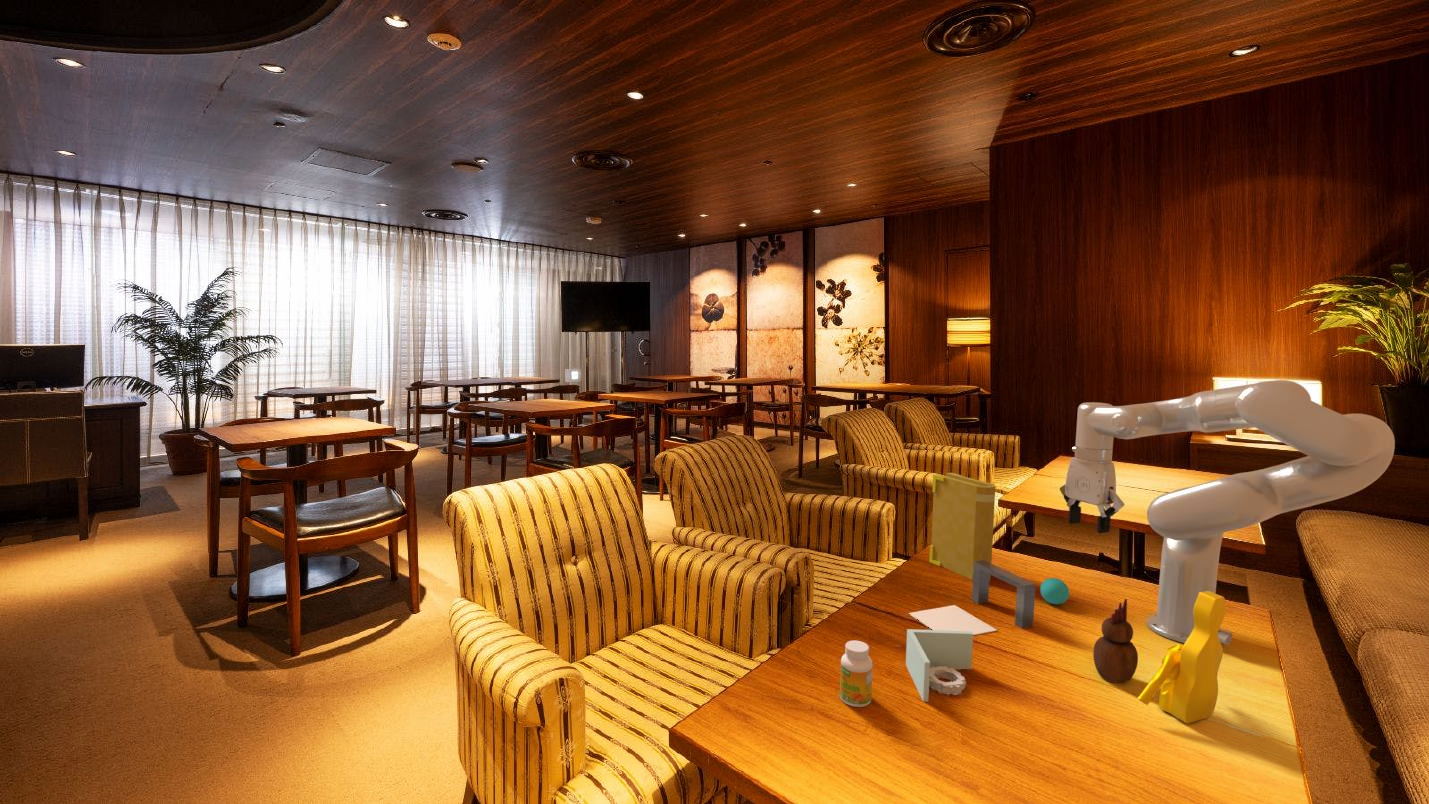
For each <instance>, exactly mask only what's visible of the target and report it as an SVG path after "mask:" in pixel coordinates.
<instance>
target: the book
mask: <svg viewBox="0 0 1429 804" xmlns="http://www.w3.org/2000/svg"><path fill="white" fill-rule="evenodd" d="M932 493H933V497H932V499H933V500H932V501H933V502H932V517H931V519H932V522H931V542H930V543H931V544H929V561H928V562H929V563H931V564H933V565H936V566H938V567H942V568H945V569H947V570H948V571H951V572H953V573H956V574H957V575H960V576H962V577H964V578H966V577H967V579H968V580H970V581H973V570H974V562H975V561H982V560H985V561H987V562H989V563H991V564H992V556H993V540H994V539H993V538H994V537H993V536H994V521H995V517H994V516H995V501H996V485H995V484H993V483H990V482H986V481H982V480H978V479H975V478H971V477H967V476H963V475H961V474H957V473H953V472H946V473H945V475H944V474H943V475H942V474H932ZM991 577H992V575H990V577H989V582H990V581H991V579H992V578H991Z"/></svg>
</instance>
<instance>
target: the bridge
mask: <svg viewBox="0 0 1429 804" xmlns="http://www.w3.org/2000/svg"><path fill="white" fill-rule="evenodd" d="M990 575H991V577H992V576H993V577H995V578H997V579H998V580H1000V581H1002V582H1005V583H1007V584H1009V585H1011V586H1013V587H1015V588H1016V602H1015V603H1016V604H1015V615H1014V616H1015V618H1014V620H1015V621H1014V625H1015V626H1017V627H1019V628H1021V630H1023V629H1028V628H1032V627H1034V614H1035V599H1036V583H1034V582H1032V581H1030V580H1027V579H1026V578H1024V577H1022V576H1019V575H1018V574H1015V573H1013V572H1010V571H1008V570H1006V569H1004V568H1002V567H999V566H998V565H995V564H993V563H992V562H991V563H989V562H987V561H985V560H982V561H975V562H974V570H973V580H972V593H971V596H972V597H971V601H972V602H974V604H978V605H980V604H981V605H982V604H985V603H989V596H990V595H989V593H990V581H989V577H990Z"/></svg>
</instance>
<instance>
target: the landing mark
mask: <svg viewBox="0 0 1429 804" xmlns="http://www.w3.org/2000/svg"><path fill="white" fill-rule="evenodd" d="M909 614H910V615H909ZM908 615H909V616H910V617H913V619H915V620H917V619H918V620H919V621H918V620H917V621H918V622H920V623H921V624H923V625H924V626H926V627H927V628H928V627H929V628H928V629H929V630H931V629H932V630H946V631H971V632H972V633H973V637H974V636H978V635H984V634H988V633H993V632H997V631H998V629H996V628H995V627H993V626H991V625H989V624H988V623H987V622H984V621H982V620H981V619H979V618H977V617H975V616H974V615H972V614H971V613H969V612H967V611H966V610H964V609H962V608H960V607H958V606H957V605H955V604H953V605H948V606H941V607H937V608H931V609H930V608H929V609H924V610H923V609H922V610H918V611H913V612H908Z"/></svg>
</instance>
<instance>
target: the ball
mask: <svg viewBox="0 0 1429 804" xmlns="http://www.w3.org/2000/svg"><path fill="white" fill-rule="evenodd" d="M1039 591H1040V595H1041V596H1042V598H1043V599H1044V600H1045V601H1046V602H1047V603H1049V604H1051V605H1062V604H1064V603H1066V601H1068V599H1069V597H1070V590H1069V586H1068V585H1067V584H1066V583H1065V582H1064V581H1063V580H1061V579H1060V578H1056V577H1050V578H1046V579H1045V580H1044V581H1043V582H1041V585H1040V588H1039Z"/></svg>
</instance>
